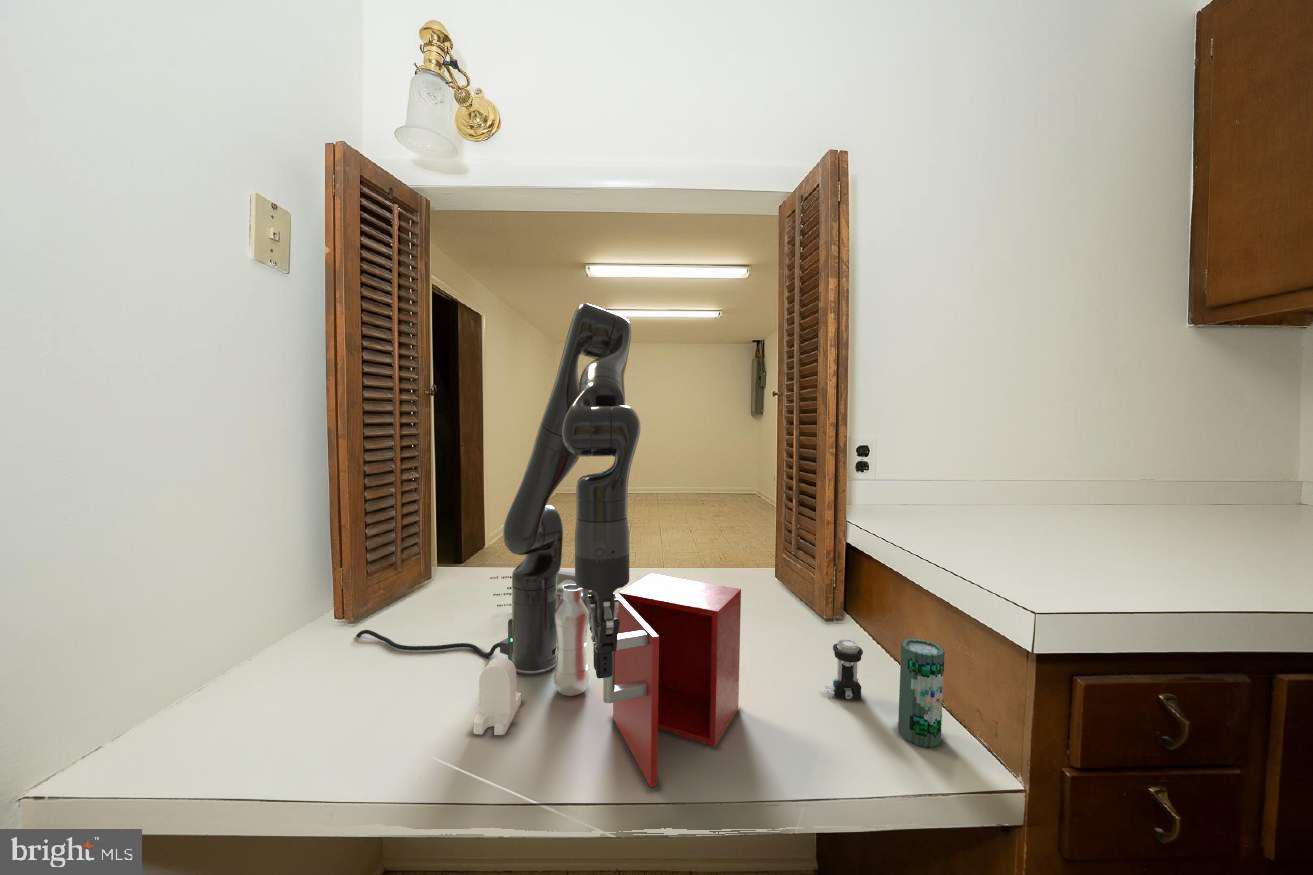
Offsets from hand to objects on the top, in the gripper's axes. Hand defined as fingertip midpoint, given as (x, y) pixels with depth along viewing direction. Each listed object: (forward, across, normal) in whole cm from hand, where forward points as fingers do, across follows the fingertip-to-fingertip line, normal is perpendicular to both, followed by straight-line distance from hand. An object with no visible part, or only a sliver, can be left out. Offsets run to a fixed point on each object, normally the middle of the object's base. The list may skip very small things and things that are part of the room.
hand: (602, 672), depth 74 cm
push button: (+17, +14, -48) cm, 53 cm away
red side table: (+17, +7, -3) cm, 18 cm away
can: (+18, 0, -53) cm, 56 cm away
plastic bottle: (+17, +27, +2) cm, 32 cm away
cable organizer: (+17, +21, +15) cm, 31 cm away
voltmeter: (+16, +69, +6) cm, 71 cm away
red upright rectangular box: (+17, +16, -16) cm, 28 cm away
